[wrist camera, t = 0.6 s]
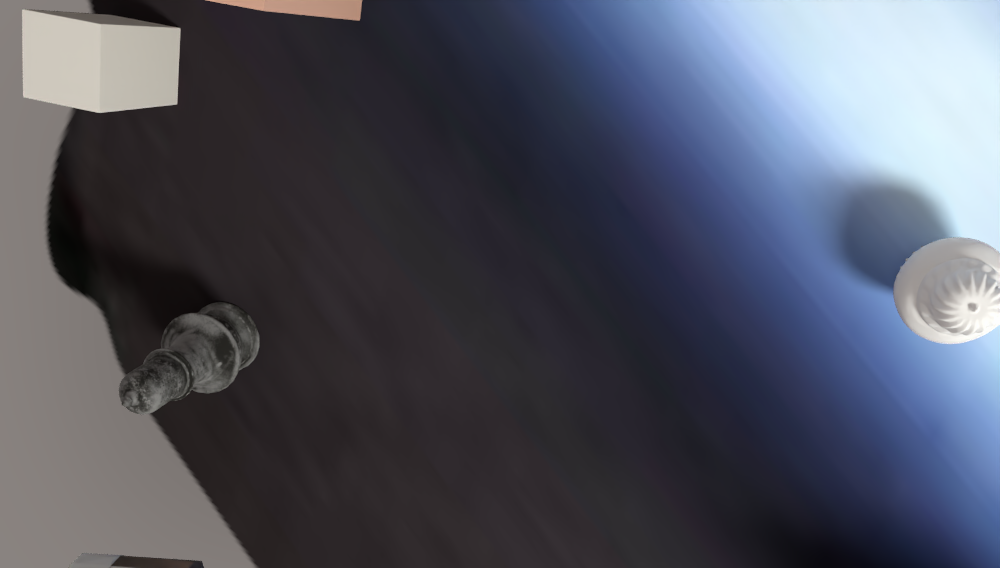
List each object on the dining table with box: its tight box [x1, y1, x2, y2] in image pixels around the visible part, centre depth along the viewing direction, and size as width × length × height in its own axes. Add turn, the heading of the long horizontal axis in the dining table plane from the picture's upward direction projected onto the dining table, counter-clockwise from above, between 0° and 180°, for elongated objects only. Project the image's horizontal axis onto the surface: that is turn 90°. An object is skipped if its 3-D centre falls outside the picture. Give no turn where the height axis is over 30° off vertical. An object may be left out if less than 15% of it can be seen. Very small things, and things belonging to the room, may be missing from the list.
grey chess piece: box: [119, 302, 260, 414], centre depth 53 cm, size 6×6×12 cm
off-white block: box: [22, 9, 180, 113], centre depth 50 cm, size 5×5×8 cm
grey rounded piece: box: [893, 237, 1000, 344], centre depth 45 cm, size 6×6×7 cm
